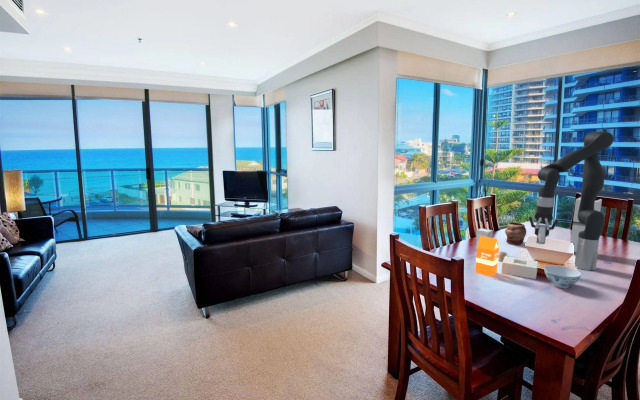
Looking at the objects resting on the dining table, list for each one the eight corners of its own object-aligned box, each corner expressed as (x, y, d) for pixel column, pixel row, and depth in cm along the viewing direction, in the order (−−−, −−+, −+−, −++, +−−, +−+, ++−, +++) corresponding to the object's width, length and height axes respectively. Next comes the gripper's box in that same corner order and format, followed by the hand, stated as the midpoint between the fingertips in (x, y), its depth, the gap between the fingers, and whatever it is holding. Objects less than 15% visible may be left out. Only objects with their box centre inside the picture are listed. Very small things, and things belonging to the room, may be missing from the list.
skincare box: (492, 253, 219) (494, 230, 216) (487, 254, 216) (488, 232, 213) (480, 249, 226) (481, 227, 223) (474, 251, 223) (476, 229, 220)
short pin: (506, 260, 206) (507, 252, 205) (505, 262, 202) (506, 254, 201) (498, 259, 208) (499, 251, 207) (498, 261, 205) (498, 253, 204)
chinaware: (580, 294, 160) (582, 279, 159) (542, 287, 168) (544, 272, 167) (577, 283, 173) (579, 268, 172) (542, 277, 181) (544, 263, 179)
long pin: (545, 242, 190) (547, 225, 188) (544, 244, 186) (546, 226, 185) (536, 241, 192) (538, 224, 190) (536, 243, 189) (538, 225, 187)
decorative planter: (511, 238, 250) (512, 219, 248) (529, 241, 241) (531, 222, 239) (500, 243, 237) (501, 224, 235) (519, 247, 228) (521, 227, 226)
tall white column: (589, 258, 208) (597, 201, 202) (569, 253, 216) (575, 199, 209) (594, 254, 215) (602, 199, 209) (573, 250, 223) (580, 197, 217)
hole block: (536, 271, 188) (538, 261, 187) (535, 279, 178) (537, 268, 177) (504, 266, 197) (504, 256, 196) (501, 272, 187) (502, 262, 186)
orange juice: (480, 268, 193) (483, 234, 190) (497, 272, 187) (500, 237, 184) (475, 272, 188) (477, 237, 184) (491, 276, 182) (495, 240, 178)
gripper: (560, 205, 184) (557, 236, 187) (530, 202, 192) (526, 232, 195) (561, 207, 178) (557, 239, 181) (529, 204, 186) (525, 235, 189)
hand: (541, 235), depth 188 cm, fingers closed on long pin, 4 cm apart
